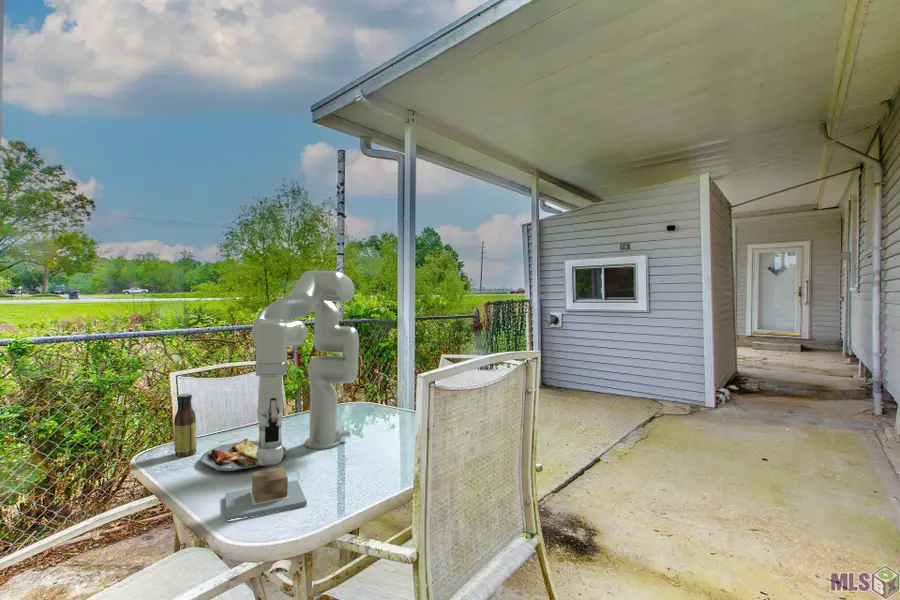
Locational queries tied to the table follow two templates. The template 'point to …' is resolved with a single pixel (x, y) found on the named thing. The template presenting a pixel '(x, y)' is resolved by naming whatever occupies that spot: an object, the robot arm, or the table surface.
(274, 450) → the plastic bottle
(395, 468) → the table surface
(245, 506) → the board
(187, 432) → the sauce bottle
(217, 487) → the table surface
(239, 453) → the food plate
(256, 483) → the block
